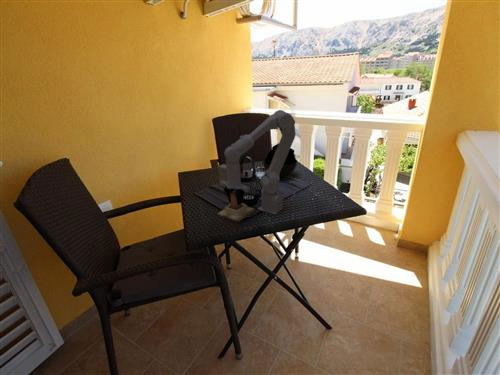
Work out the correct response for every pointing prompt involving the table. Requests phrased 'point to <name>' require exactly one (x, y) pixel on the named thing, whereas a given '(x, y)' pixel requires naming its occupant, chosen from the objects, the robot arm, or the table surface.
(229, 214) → the socket holder
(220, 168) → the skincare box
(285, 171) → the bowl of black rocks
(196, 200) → the table surface
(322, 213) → the table surface
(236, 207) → the peg
